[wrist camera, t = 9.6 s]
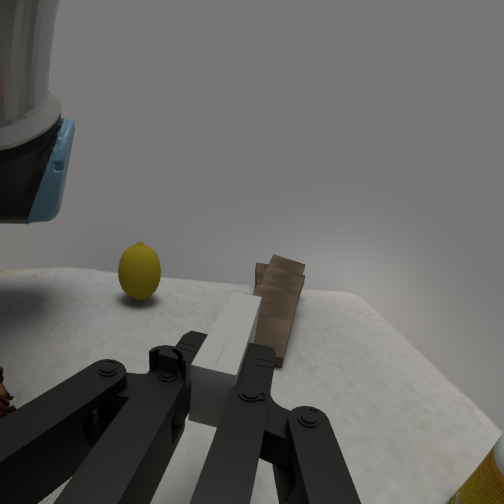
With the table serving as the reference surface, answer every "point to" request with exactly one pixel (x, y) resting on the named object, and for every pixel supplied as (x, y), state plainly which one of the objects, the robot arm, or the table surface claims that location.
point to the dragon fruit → (4, 398)
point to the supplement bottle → (484, 480)
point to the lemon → (139, 271)
